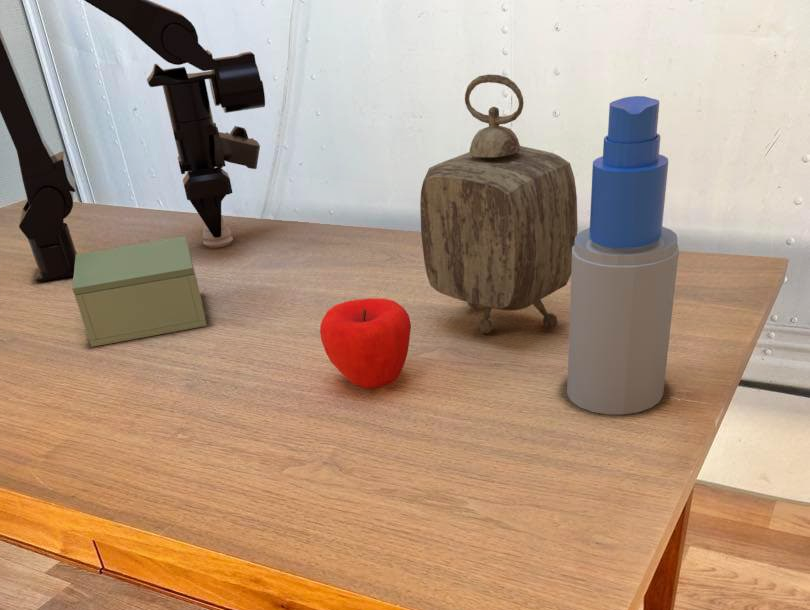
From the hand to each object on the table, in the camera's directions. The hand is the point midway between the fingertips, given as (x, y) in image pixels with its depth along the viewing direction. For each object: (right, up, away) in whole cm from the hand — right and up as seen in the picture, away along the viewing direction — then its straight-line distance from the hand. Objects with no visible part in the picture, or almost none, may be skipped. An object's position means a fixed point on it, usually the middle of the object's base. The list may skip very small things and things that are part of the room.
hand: (216, 232), depth 126 cm
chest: (-4, -19, -21) cm, 28 cm away
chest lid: (-4, -13, -25) cm, 28 cm away
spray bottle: (+48, -32, -45) cm, 73 cm away
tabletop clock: (+38, -22, -31) cm, 54 cm away
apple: (+25, -30, -39) cm, 55 cm away
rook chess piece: (0, -1, +1) cm, 2 cm away
